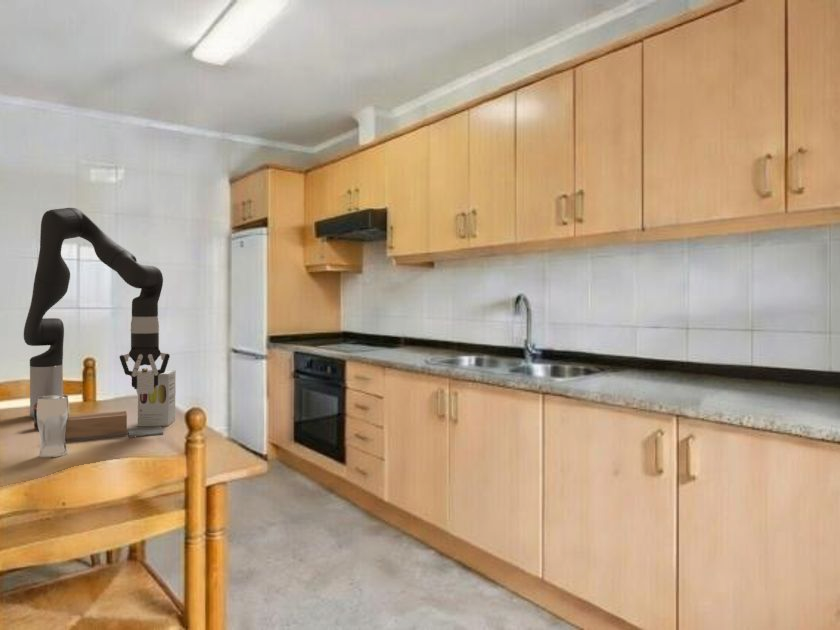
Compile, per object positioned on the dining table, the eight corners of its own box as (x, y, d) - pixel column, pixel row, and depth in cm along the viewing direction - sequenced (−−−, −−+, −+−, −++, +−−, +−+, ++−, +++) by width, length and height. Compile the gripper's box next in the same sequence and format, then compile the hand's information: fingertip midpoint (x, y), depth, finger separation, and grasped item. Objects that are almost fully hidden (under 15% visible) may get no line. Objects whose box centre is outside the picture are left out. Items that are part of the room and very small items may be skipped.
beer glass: (44, 460, 135) (44, 400, 134) (31, 455, 138) (31, 397, 138) (74, 453, 141) (74, 396, 140) (61, 449, 144) (61, 393, 144)
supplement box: (136, 426, 170) (136, 373, 170) (145, 420, 179) (145, 369, 179) (169, 425, 172) (169, 373, 172) (176, 419, 181) (176, 369, 181)
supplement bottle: (57, 427, 169) (57, 396, 168) (40, 430, 164) (40, 399, 164) (47, 425, 171) (47, 395, 170) (30, 428, 166) (30, 397, 166)
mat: (128, 430, 166) (128, 428, 166) (160, 427, 170) (160, 425, 170) (129, 437, 157) (129, 435, 157) (163, 434, 161) (163, 432, 161)
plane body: (54, 437, 157) (54, 416, 157) (126, 430, 166) (126, 410, 166) (52, 442, 150) (52, 421, 150) (127, 435, 160) (127, 415, 159)
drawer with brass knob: (137, 394, 158) (137, 371, 158) (136, 390, 165) (136, 368, 165) (153, 393, 161) (153, 370, 160) (152, 389, 167) (152, 367, 167)
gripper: (117, 332, 156) (118, 391, 156) (172, 331, 163) (172, 388, 163) (117, 331, 162) (117, 388, 163) (169, 330, 169) (169, 384, 170)
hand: (145, 387), depth 163 cm, fingers closed on drawer with brass knob, 4 cm apart
